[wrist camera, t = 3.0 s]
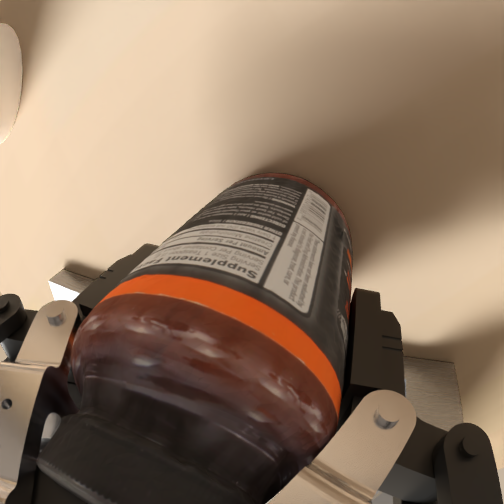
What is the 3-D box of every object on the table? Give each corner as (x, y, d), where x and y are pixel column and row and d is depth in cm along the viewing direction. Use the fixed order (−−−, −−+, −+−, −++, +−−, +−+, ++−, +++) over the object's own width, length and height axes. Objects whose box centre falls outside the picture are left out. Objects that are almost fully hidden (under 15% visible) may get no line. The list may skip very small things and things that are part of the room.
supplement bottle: (335, 312, 14) (271, 579, 4) (210, 281, 15) (65, 493, 6) (369, 184, 11) (363, 584, 1) (214, 156, 12) (-64, 361, 3)
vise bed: (453, 363, 13) (467, 474, 8) (377, 459, 19) (367, 532, 14) (62, 269, 19) (-5, 326, 13) (103, 380, 25) (64, 432, 19)
